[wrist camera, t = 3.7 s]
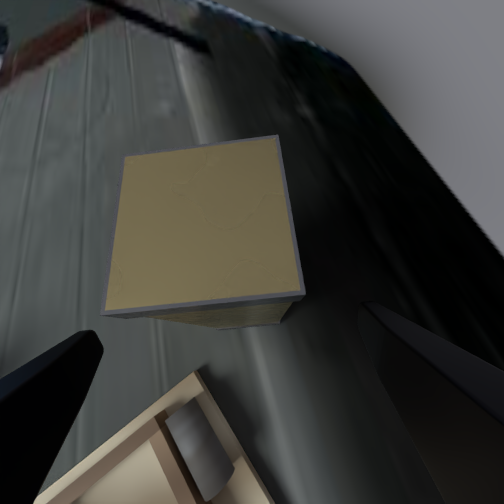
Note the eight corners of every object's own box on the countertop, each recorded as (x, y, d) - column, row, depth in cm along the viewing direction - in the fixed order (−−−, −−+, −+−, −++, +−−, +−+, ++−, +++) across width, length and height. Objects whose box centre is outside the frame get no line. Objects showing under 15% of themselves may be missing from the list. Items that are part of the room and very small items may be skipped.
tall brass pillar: (279, 324, 17) (305, 294, 5) (219, 330, 17) (100, 315, 5) (272, 265, 19) (278, 134, 7) (216, 271, 19) (122, 154, 7)
